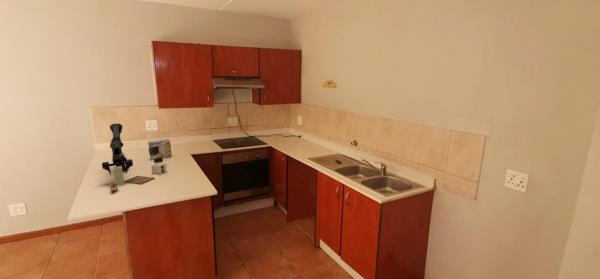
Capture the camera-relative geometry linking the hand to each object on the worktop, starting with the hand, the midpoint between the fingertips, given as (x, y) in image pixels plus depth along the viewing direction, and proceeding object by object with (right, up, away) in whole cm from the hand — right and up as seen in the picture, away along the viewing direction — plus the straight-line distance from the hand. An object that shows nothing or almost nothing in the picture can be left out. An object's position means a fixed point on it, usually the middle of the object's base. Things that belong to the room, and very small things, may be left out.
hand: (118, 174), depth 208 cm
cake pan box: (-3, +7, +69) cm, 69 cm away
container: (+16, -2, +28) cm, 32 cm away
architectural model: (+4, -11, -10) cm, 16 cm away
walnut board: (+9, -6, +10) cm, 15 cm away
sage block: (0, -8, +2) cm, 8 cm away
